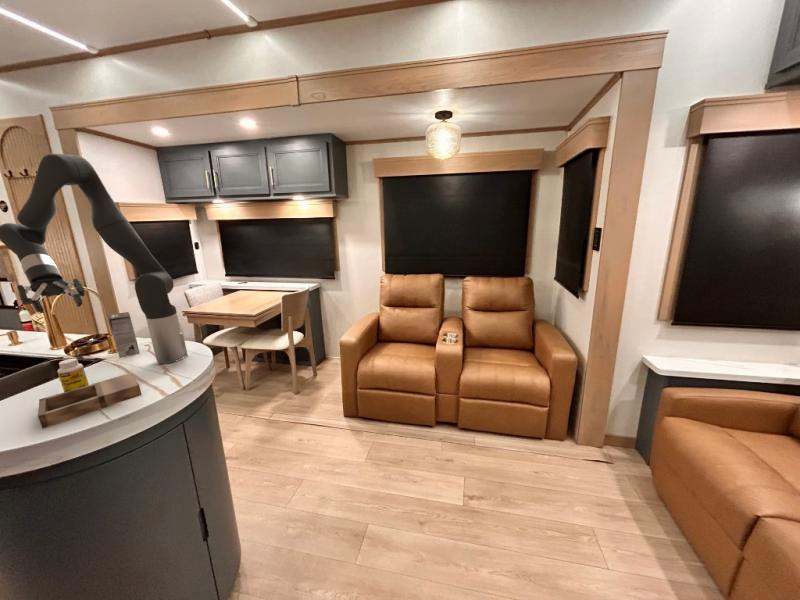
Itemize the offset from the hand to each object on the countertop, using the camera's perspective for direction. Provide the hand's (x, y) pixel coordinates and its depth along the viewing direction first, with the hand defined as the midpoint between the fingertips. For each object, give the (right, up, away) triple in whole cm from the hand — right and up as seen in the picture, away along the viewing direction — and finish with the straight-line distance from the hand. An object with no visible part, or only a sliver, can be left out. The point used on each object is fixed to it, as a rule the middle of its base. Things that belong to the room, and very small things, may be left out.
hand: (61, 308), depth 102 cm
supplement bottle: (+8, -26, -3) cm, 27 cm away
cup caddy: (+20, -27, -10) cm, 35 cm away
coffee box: (-1, -19, +26) cm, 33 cm away
